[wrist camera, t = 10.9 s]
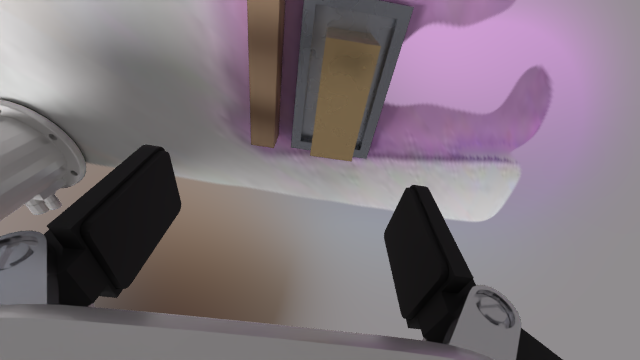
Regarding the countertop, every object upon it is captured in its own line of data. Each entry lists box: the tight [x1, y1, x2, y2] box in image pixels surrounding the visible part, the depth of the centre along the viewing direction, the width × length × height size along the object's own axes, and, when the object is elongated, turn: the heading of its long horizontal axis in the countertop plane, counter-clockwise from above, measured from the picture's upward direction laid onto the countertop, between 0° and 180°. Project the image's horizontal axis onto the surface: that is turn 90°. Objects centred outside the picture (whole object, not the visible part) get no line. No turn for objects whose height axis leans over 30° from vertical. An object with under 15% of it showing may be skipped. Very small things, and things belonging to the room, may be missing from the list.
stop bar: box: [310, 27, 381, 161], centre depth 23 cm, size 4×10×6 cm, turn 172°
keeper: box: [291, 0, 414, 159], centre depth 25 cm, size 15×9×2 cm, turn 172°
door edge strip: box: [247, 0, 285, 148], centre depth 22 cm, size 20×2×3 cm, turn 172°
